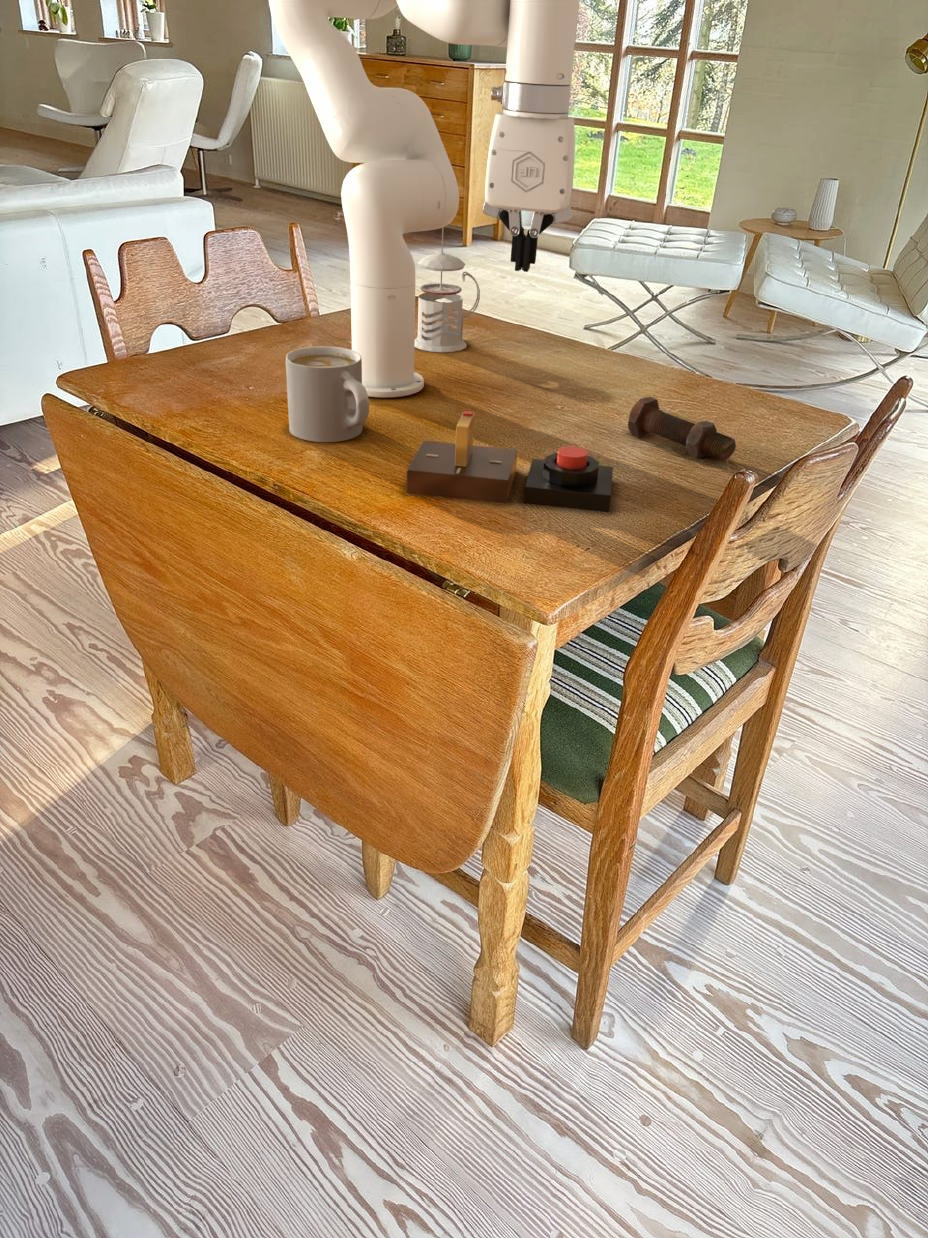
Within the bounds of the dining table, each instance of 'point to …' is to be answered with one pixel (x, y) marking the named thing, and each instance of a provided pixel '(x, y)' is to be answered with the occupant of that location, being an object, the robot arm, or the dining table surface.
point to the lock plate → (462, 472)
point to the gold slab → (464, 439)
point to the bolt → (679, 430)
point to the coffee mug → (325, 394)
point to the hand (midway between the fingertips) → (522, 268)
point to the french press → (442, 307)
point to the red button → (572, 457)
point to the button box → (569, 485)
